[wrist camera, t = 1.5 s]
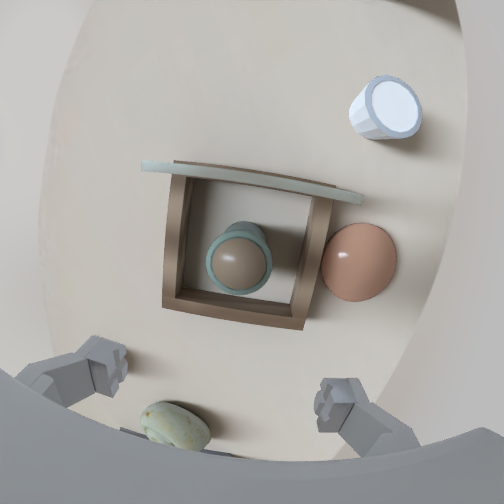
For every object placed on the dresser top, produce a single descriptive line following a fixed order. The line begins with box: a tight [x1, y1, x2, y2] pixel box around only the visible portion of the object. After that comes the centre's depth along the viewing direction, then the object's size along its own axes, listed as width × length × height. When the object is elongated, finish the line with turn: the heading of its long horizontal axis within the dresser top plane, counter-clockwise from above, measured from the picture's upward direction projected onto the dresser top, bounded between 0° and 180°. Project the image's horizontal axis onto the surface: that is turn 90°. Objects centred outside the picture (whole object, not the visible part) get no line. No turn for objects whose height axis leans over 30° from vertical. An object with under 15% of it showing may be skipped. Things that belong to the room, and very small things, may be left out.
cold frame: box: [141, 160, 363, 331], centre depth 27 cm, size 17×17×12 cm
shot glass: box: [349, 75, 422, 140], centre depth 24 cm, size 7×7×7 cm
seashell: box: [140, 402, 211, 452], centre depth 38 cm, size 13×8×10 cm
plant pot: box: [206, 221, 272, 295], centre depth 28 cm, size 6×6×8 cm
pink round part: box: [321, 223, 396, 302], centre depth 32 cm, size 10×10×1 cm
